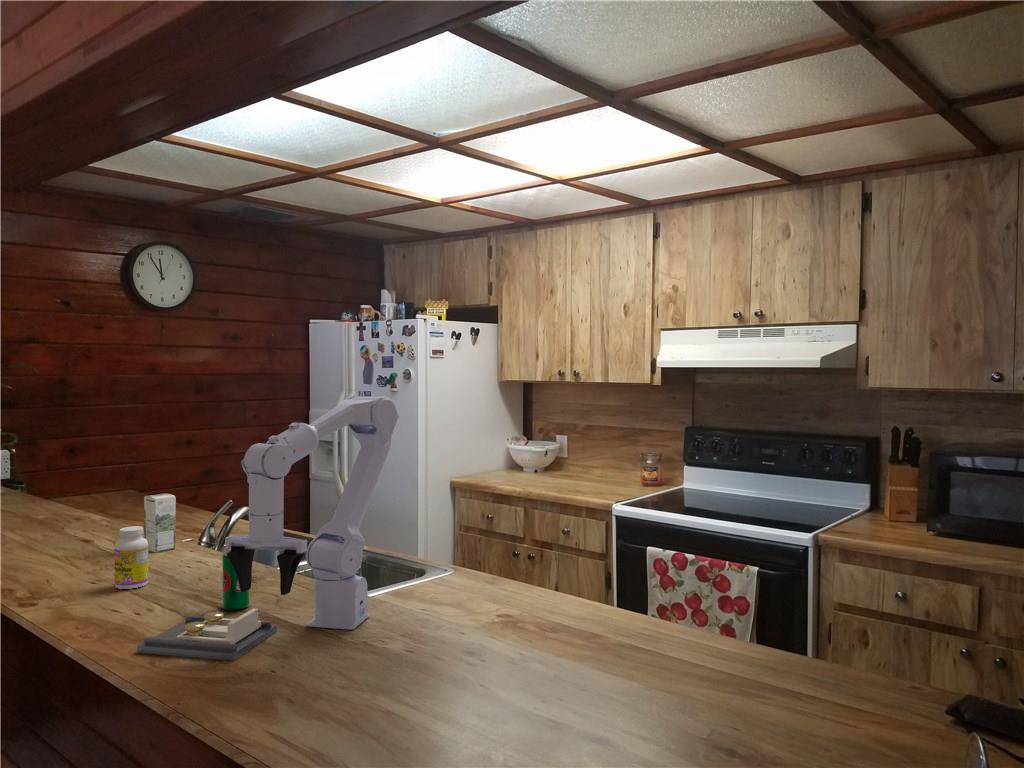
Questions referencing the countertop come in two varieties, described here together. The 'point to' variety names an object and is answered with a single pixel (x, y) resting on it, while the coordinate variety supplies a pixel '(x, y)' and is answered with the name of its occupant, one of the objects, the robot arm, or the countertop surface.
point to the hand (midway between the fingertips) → (265, 591)
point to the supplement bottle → (131, 559)
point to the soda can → (232, 587)
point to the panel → (227, 629)
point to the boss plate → (203, 649)
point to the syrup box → (160, 522)
